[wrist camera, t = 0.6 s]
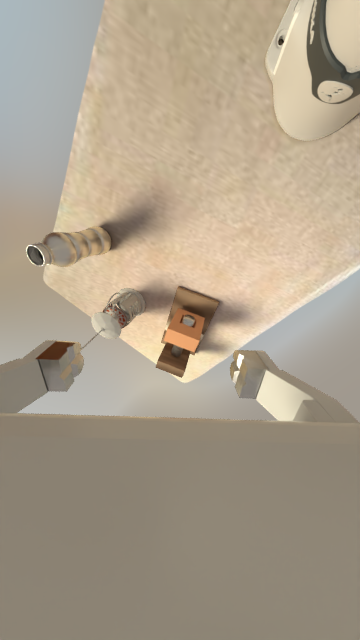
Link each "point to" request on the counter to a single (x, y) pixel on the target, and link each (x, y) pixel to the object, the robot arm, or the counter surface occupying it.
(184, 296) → the pipe stand
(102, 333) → the french press
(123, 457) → the robot arm
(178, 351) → the steel pipe
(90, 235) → the plastic bottle
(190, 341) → the collar
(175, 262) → the counter surface
